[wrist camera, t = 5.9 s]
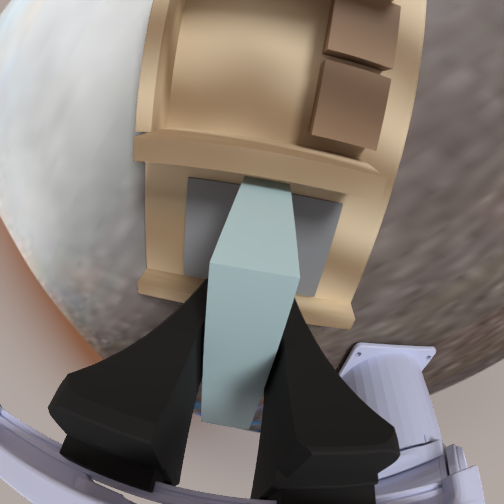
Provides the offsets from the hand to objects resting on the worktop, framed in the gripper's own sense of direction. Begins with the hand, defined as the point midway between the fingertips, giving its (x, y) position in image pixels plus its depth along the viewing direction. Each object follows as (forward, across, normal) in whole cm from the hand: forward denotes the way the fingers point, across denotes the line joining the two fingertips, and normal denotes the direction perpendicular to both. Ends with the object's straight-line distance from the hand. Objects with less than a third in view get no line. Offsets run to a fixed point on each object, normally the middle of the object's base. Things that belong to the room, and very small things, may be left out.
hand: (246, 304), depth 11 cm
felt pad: (+6, 0, 0) cm, 6 cm away
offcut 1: (+6, -3, -12) cm, 14 cm away
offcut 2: (+6, -3, -8) cm, 10 cm away
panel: (+4, 0, 0) cm, 4 cm away
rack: (+6, 0, -6) cm, 9 cm away
